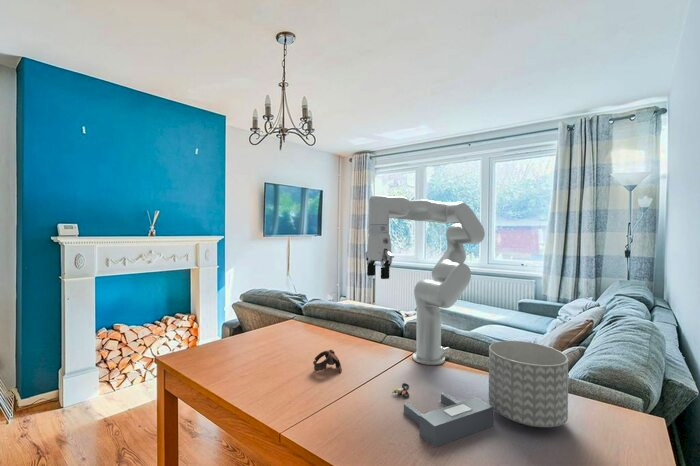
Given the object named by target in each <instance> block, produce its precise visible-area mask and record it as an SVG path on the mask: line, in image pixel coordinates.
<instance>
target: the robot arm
mask: <svg viewBox="0 0 700 466" xmlns="http://www.w3.org/2000/svg"><path fill="white" fill-rule="evenodd" d="M390 219H395V220H396V219H397V220H407V221H414V222H415V221H416V222H426V223H427V222H429V223H436V224H451V225H449V226H448V227H447V229H446V232H445V238H446V243H447V244H446V245H447V248H446V249H445V252H444V254H443V255H442V257H441V258H440V259H439V260H438V261H437V263H436V264H435V265H434V267H433V268H432V271H431V278H432V279H421V280H420V281H418V282H416V284H415V286H414V291H413V294H414V300H415V306H416V308H415V309H416V334H415V335H416V336H415V337H416V344H415V345H416V350H415V351H416V352H415V351H414V353H412V360H413V361H415V362H417V363H419V364H422V365H427V366H437V365H441V364H444V363H445V362H446V356H444V354H446V353H450V351H451V349H450V347H449V346H446V347H443V346H442V312H441V310H440V309H441V308H442V309H449V308H451V307H453V306H455V304H456V303H457V301H458V300H459V299H460V297H461V296H462V294H463V293H464V291H465V290H466V289H467V287H468V286H469V284H470V282H471V278H472V271H471V268H470V267H469V265H467V264H466V263H465V262H466V259H467V258H466V257H467V254H466V250H465V246H464V244H465V245H467V244H468V245H478V244H480V243H481V242H483V240H484V239H485V235H486V234H485V228H484V226H483V224H482V222H481V221H480V220H479V218H478V217H477V215H476V214H475V212H474V211H473V210H472V209H471V207H470V206H469V205H468V204H467V203H466V202H463V201H454V202H445V201H444V202H443V201H437V200H436V201H435V200H429V199H416V200H410V199H409V198H407V197H405V196H402V195H401V196H400V195H399V196H398V195H397V196H387V195H380V194H378V195H377V194H376V195H371V196H370V197H369V200H368V228H367V229H368V237H367V248H366V252H365V254H364V255H365V260H366V275H367V276H368V277H371V276H376V264H375V263H376V262H379V263H380V264H381V267H380V279H382V280H389V279H390V268H391V265H392V262H393V258H394V256H393V254H392V241H391V235H390Z"/></svg>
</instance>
